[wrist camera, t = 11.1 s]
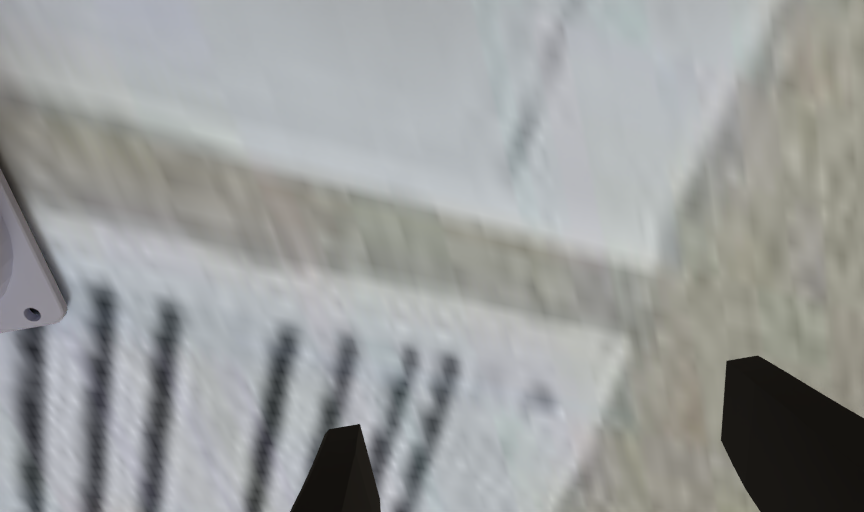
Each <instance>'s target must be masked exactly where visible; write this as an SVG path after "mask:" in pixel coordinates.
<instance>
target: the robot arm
mask: <svg viewBox="0 0 864 512" xmlns="http://www.w3.org/2000/svg"><path fill="white" fill-rule="evenodd" d="M30 308H34V309H36V310H38V311H39V312H40V315H36V314H34V313H32V312H31V311H30ZM66 313H67V305H66V302H65V300H64V298H63V296H62V294H61V292H60V290H59V288H58V286H57V284H56V282H55V280H54V278H53V275H52V273H51V271H50V269H49V267H48V265H47V263H46V261H45V259H44V257H43V255H42V253H41V251H40V249H39V247H38V245H37V243H36V240H35V238H34V236H33V234H32V232H31V230H30V228H29V226H28V224H27V222H26V220H25V218H24V216H23V214H22V212H21V210H20V208H19V205H18V203H17V201H16V199H15V197H14V195H13V193H12V191H11V189H10V187H9V185H8V183H7V181H6V179H5V177H4V175H3V172H2V170H1V168H0V333H3V332H9V331H15V330H21V329H27V328H32V327H38V326H44V325H50V324H55V323H58V322H60V321H61V320H62V319H63V317H64V316H65V315H66ZM721 441H722V443H723V445H724V447H725V449H726V451H727V453H728V456H729V458H730V460H731V462H732V464H733V466H734V468H735V470H736V472H737V474H738V476H739V477H740V479H741V481H742V483H743V485H744V487H745V489H746V490H747V492H748V493H749V495H750V496H751V498H752V500H753V501H754V503H755V504H756V506H757V507H758V509H759V510H760V512H864V418H862V417H860V416H859V415H857V414H855V413H854V412H852V411H850V410H848V409H847V408H845V407H843V406H841V405H840V404H838V403H836V402H835V401H833V400H831V399H830V398H828V397H826V396H825V395H823V394H821V393H820V392H818V391H816V390H815V389H813V388H811V387H810V386H808V385H806V384H805V383H803V382H801V381H800V380H798V379H797V378H795V377H793V376H792V375H790V374H788V373H787V372H785V371H783V370H782V369H780V368H778V367H777V366H775V365H773V364H772V363H770V362H768V361H766V360H765V359H763V358H761V357H759V356H753V357H747V358H741V359H735V360H730V361H727V363H726V377H725V391H724V406H723V420H722V434H721ZM290 512H381V510H380V498H379V494H378V490H377V487H376V483H375V479H374V475H373V472H372V468H371V464H370V460H369V457H368V453H367V449H366V445H365V442H364V438H363V434H362V430H361V427H360V424H358V425H352V426H346V427H340V428H334V429H329V430H328V431H327V432H326V434H325V435H324V438H323V440H322V443H321V445H320V448H319V450H318V453H317V455H316V458H315V460H314V462H313V465H312V467H311V469H310V471H309V474H308V476H307V478H306V480H305V482H304V485H303V487H302V489H301V491H300V493H299V495H298V497H297V499H296V501H295V503H294V505H293V507H292V509H291V511H290Z"/></svg>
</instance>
